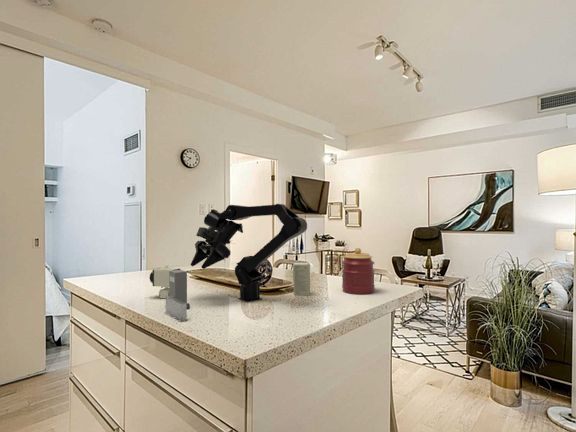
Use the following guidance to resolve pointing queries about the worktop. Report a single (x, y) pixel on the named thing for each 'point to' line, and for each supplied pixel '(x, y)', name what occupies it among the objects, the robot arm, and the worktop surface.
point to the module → (178, 285)
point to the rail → (177, 308)
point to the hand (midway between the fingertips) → (196, 266)
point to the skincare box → (301, 278)
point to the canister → (358, 273)
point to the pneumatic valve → (161, 280)
